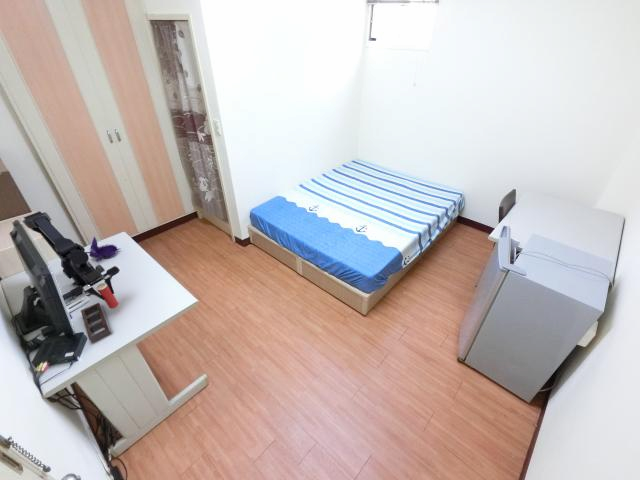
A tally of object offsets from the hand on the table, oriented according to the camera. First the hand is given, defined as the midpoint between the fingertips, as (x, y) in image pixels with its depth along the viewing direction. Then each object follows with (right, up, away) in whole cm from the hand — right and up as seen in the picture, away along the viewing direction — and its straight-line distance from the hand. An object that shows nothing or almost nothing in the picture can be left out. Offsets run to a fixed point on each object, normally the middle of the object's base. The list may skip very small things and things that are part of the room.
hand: (109, 296), depth 127 cm
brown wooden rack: (-6, -12, +2) cm, 14 cm away
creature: (-29, +16, +37) cm, 49 cm away
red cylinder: (-1, -5, +5) cm, 7 cm away
